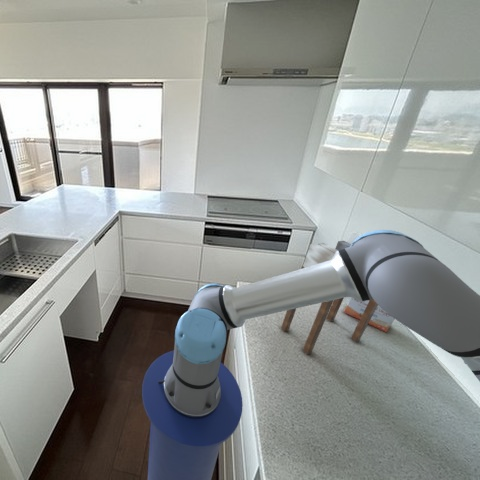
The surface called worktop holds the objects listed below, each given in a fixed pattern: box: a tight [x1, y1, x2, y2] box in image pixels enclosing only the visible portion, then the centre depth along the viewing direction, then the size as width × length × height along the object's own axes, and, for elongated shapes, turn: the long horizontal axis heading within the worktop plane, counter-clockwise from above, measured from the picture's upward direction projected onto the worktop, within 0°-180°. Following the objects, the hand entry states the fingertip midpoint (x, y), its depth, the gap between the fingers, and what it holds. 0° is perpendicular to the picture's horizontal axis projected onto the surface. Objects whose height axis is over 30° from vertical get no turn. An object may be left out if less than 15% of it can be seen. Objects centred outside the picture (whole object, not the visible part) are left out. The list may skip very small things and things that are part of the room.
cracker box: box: [343, 297, 396, 333], centre depth 95 cm, size 14×6×21 cm, turn 42°
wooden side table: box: [280, 240, 378, 355], centre depth 83 cm, size 12×23×34 cm, turn 107°
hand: (400, 256), depth 70 cm, fingers closed on white book, 2 cm apart
